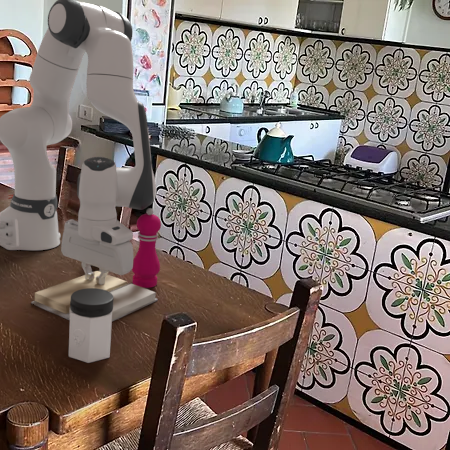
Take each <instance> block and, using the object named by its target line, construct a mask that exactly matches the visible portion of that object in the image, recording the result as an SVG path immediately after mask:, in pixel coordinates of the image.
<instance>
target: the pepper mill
mask: <svg viewBox="0 0 450 450" xmlns="http://www.w3.org/2000/svg"><path fill="white" fill-rule="evenodd" d="M161 226H162V221H161V219H160V217H159V216H157V215H156V214H154V209H153V208H151V207H150V208H149V207H147V209H146V211H145V213H144V214H141V215H140V216H139V217H138V219H137V220H136V227H137V230H138V231H139V232H137V234H138V235H137V238H138V240H139V243H138V250H137V252H136V254H135V255H134V256H133V268H132V270H131V271H132V273H133V275H132V281H131V283H132V284H134V285H137V286H140V287H142V288H145V289H150V288H154V287H156V286H157V285H158V276H157V275H158V274H159V273H160V270H161V263H160V259H159V257H158V254H157V250H156V243H157V240H158V239H159V233H158V232H159V231H160V230H161V228H162V227H161Z"/></svg>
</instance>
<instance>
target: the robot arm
mask: <svg viewBox="0 0 450 450" xmlns="http://www.w3.org/2000/svg"><path fill="white" fill-rule="evenodd" d="M47 27H48V28H47V29H46V32H45V33H44V36H43V38H42V40H41V42H40V44H39V47H38V50H37V54H36V57H35V59H34V63H33V65H32V69H31V73H30V76H29V85H30V86H31V88H32V91H33V97H32V103H31V105H30V106H27V107H20V108H19V107H17V108H14V109H13V110H10V111H8V112H6V113H3V114H2V115H1V116H0V142H1V143H2V145H3V146H5V147H6V148H7V150H8V152H9V154H10V157H11V160H12V165H13V170H14V173H13V174H14V193H12V194H8V195H7V197H8V198H7V199H8V200H10V204H9V205H8V207H6V208H5V209H3V210H2V211H0V246H1V247H3V248H4V249H6V250H8V251H17V250H18V251H20V250H21V251H43V250H45V251H46V250H50V249H53V248H56V247H58V246H59V245H60V244H61V245H60V247H61V250H60V251H61V253H62V255H63V256H64V257H67V258H70V259H73V260H76V261H79V262H81V267H82V269H83V273H84V275H85V279H86V280H89V281H91V280H94V275H95V273H94V272H95V271H93V269H92V267H91V266H93V267H96V268H99V270H98V271H99V272H101V274H100V276H97V277H96V283H97V284H100V285H102V284H104V283H105V277H106V276H107V274H108V275H109V273H113V274H116V275H119V276H124V275H126V274H129V273H130V272H131V271H132V268H133V259H134V246H133V243H132V242H131V240H133V239H134V232H133V231H132V230H131V229H130V228H128V227H127V226H125V225H124V224H123V223H121V222H120V221H119V220H118V219H117V216H118V214H117V210H116V207H124V208H129V209H134V210H140V211H141V210H142V211H143V210H144V209H146V208H149V206H151V205H152V204H153V203H154V202H155V199H156V197H157V196H156V195H157V182H156V179H155V178H156V177H155V174H154V171H153V163H152V162H153V161H152V154H151V153H152V152H151V144H150V135H149V124H148V118H147V112H146V108H145V106H144V104H143V102H141V101H139V100H138V98H137V95H136V93H135V90H134V55H133V45H132V39H133V26H132V23H131V22H130V20H129V19H128V18H127V17H126V16H125V15H124V14H122V13H120V12H118V11H113V10H111V9H109V8H107V7H104V6H103V5H100V4H93V3H89V2H84V1H78V0H56V1H55V2H54V3H53V5H52V6H51V7H50V9H49V12H48V15H47ZM84 54H86V55H87V68H86V83H85V84H86V98H87V99H88V101H89V103H90V104H91V106H92V107H94V108H95V110H97V112H98V111H99V112H100V113H101V114H103V115H105V116H106V117H109V118H111V119H113V120H114V121H117V122H119V123H121V124H123V125H124V126H125V127H126V128H128V130H129V131H130V133H131V135H132V140H133V150H134V159H135V166H133V167H121V166H118V167H117V164H116V162H115V161H114V160H113V159H111V158H108V157H104V156H93V157H90V158H87V159H85V160H84V161H83V162H82V166H81V171H80V173H79V174H78V177H77V182H76V183H77V185H76V186H77V187H76V195H77V197H78V199H79V203H80V205H79V210H78V214H77V217H78V218H77V220H75V219H74V218H73V219H69V220H66V221H65V223H64V229H63V233H62V239H61V233H60V231H59V221H58V212H57V209H58V196H57V194H56V192H57V191H56V190H57V189H56V188H57V170H56V167H55V166H54V165H53V164H52V163H51V162H50V158H49V156H48V150H47V146H49V145H55V144H58V143H60V142H61V141H63V140H64V139H66V138H68V136H69V135H70V134H71V132H72V130H73V119H72V116H71V115H70V113H69V112H70V99H71V94H72V91H73V88H74V84H75V82H76V79H77V75H78V73H79V69H80V67H81V63H82V60H83V58H84V56H85V55H84ZM60 239H61V240H60Z"/></svg>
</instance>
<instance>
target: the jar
mask: <svg viewBox="0 0 450 450" xmlns="http://www.w3.org/2000/svg"><path fill="white" fill-rule="evenodd" d="M113 301H114V297H113V295H112V294H111V293H110V292H108V291H106V290H103V289H97V288H87V289H81V290H78V291H75V292H74V293H73V294H72V295H71V301H70V309H71V311H70V320H69V327H68V328H69V330H68V333H69V335H68V336H69V338H68V357H69V358H71V359H74V360H78V361H81V362H84V363H87V364H90V363H94V362H98V361H101V360H105V359H109V358H110V356H111V354H110V353H111V344H112V343H111V341H112V340H111V339H112V326H113V325H112V324H113V323H112V322H113V321H112V310H113Z"/></svg>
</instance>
